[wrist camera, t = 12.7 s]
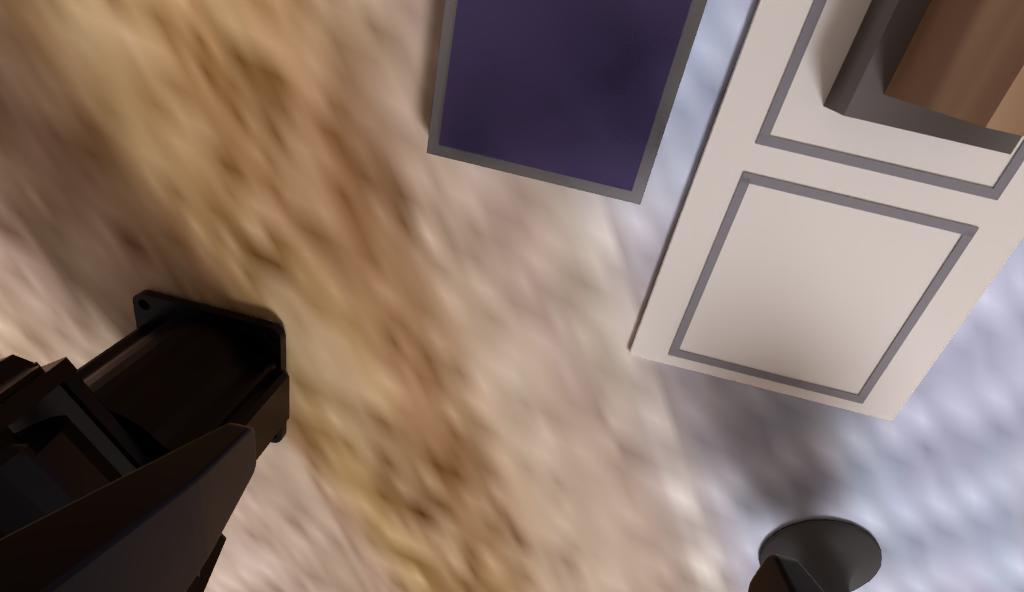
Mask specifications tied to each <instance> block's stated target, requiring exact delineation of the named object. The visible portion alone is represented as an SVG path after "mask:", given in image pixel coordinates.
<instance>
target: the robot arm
mask: <svg viewBox="0 0 1024 592" xmlns="http://www.w3.org/2000/svg"><path fill="white" fill-rule="evenodd" d="M146 301H147V302H148V303H149V304H148V303H147V302H146ZM133 306H134V312H135V318H136V324H137V329H136V330H135V331H133V332H132V333H130V334H129V335H127V336H126V337H124V338H123V339H121V340H120V341H119V342H117V343H116V344H114V345H113V346H111V347H110V348H108V349H107V350H105V351H104V352H102V353H101V354H99V355H98V356H97V357H95V358H94V359H92V360H91V361H89V362H88V363H86V364H85V365H83V366H82V367H80V368H79V369H78V370H77V369H76V368H75V366H74V365H73V364H72V363H71V362H70V361H69V360H68V358H67V357H64V358H62V359H59V360H57V361H54V362H52V363H49V364H47V365H44V366H42V367H41V366H40V365H39V364H38V363H37V362H35V363H33V362H31V361H28V360H26V359H23V358H21V357H18V356H15V355H13V354H12V355H10V356H8V357H5V358H3V359H1V360H0V592H204V590H205V588H206V585H207V583H208V581H209V578H210V576H211V573H212V571H213V569H214V566H215V564H216V562H217V559H218V557H219V555H220V552H221V550H222V548H223V545H224V543H225V541H226V537H225V536H224V535H223V534H222V531H223V529H224V528H225V526H226V524H227V522H228V520H229V518H230V516H231V514H232V513H233V511H234V509H235V507H236V505H237V503H238V501H239V499H240V498H241V496H242V494H243V492H244V490H245V488H246V486H247V484H248V483H249V481H250V479H251V477H252V475H253V473H254V470H255V466H256V460H257V459H258V457H259V456H260V455H261V454H262V452H263V451H264V450H265V448H266V447H267V446H268V445H269V443H270V442H272V443H277V442H280V441H281V440H282V438H283V437H284V436H285V434H286V421H287V420H288V419H289V375H288V373H287V371H286V334H285V331H284V329H283V328H282V327H281V326H280V325H279V324H277V323H274V322H271V321H267V320H263V319H259V318H255V317H251V316H247V315H244V314H240V313H236V312H232V311H228V310H224V309H220V308H216V307H213V306H209V305H205V304H201V303H197V302H193V301H189V300H186V299H182V298H178V297H174V296H170V295H166V294H162V293H159V292H155V291H151V290H144V291H141V292H140V293H138V294H137V295H135V296H134V298H133ZM269 332H270V333H272V334H273V335H274V337H273V336H271V335H270V334H269ZM748 592H824V591H823V590H822V588H821V587H820V586H819V585H818V584H817V583H816V581H815V580H814V579H813V578H812V577H811V576H810V574H809V573H808V572H807V571H806V570H805V568H804V567H803V566H802V565H801V564H800V563H799V562H798V561H797V560H796V559H794V558H791V557H787V556H783V555H779V554H773V553H772V554H770V555H768V556H767V557H766V558H765V560H764V561H763V563H762V564H761V566H760V568H759V569H758V571H757V572H756V574H755V576H754V577H753V579H752V580H751V582H750V585H749V590H748Z"/></svg>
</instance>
